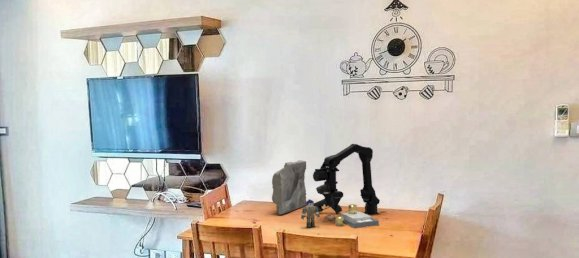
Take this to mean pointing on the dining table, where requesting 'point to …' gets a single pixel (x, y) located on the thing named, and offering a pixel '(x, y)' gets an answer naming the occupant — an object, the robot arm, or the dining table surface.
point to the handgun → (323, 202)
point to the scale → (359, 220)
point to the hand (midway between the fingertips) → (331, 207)
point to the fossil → (289, 187)
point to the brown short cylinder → (331, 217)
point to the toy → (310, 213)
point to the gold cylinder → (339, 221)
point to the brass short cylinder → (352, 209)
